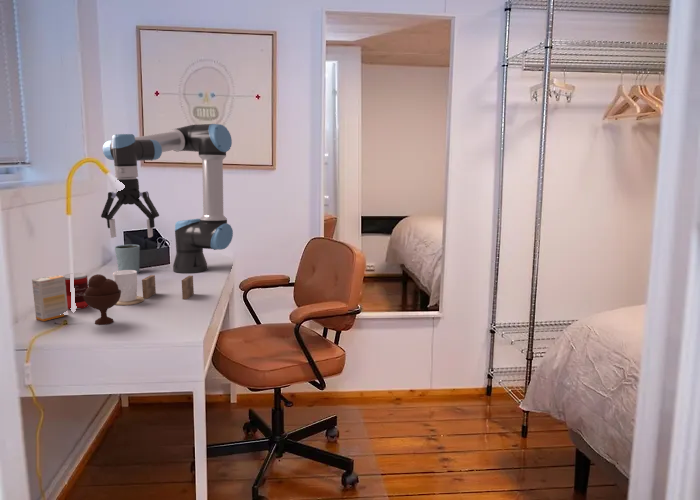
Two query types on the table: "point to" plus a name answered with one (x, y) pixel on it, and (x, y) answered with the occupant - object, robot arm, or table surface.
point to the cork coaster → (138, 300)
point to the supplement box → (49, 297)
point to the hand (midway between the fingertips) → (132, 237)
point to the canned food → (77, 289)
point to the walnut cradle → (150, 288)
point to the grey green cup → (128, 257)
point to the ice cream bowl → (102, 296)
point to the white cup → (126, 284)
